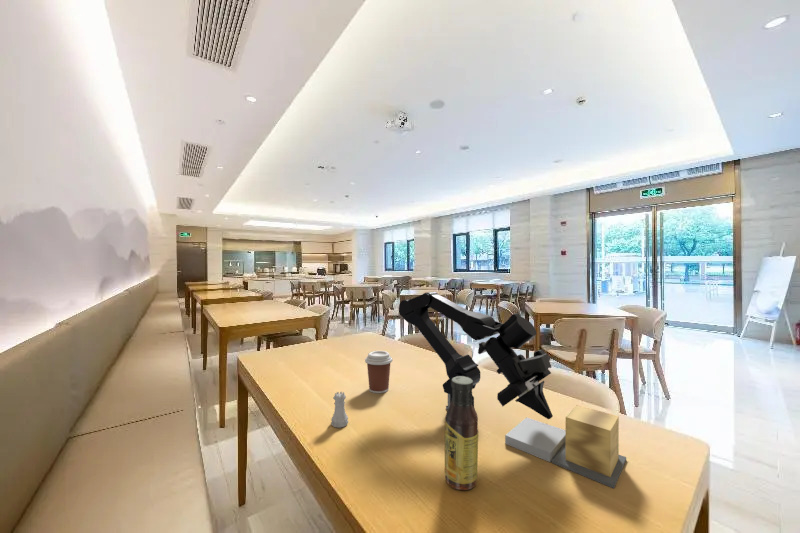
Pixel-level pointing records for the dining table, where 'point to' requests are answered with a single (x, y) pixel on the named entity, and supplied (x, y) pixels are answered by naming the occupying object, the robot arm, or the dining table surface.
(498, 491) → the dining table surface
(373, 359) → the coffee cup
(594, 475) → the rubber pad
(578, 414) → the ochre block
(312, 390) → the dining table surface
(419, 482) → the dining table surface
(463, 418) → the sauce bottle
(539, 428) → the block
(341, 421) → the rook chess piece
